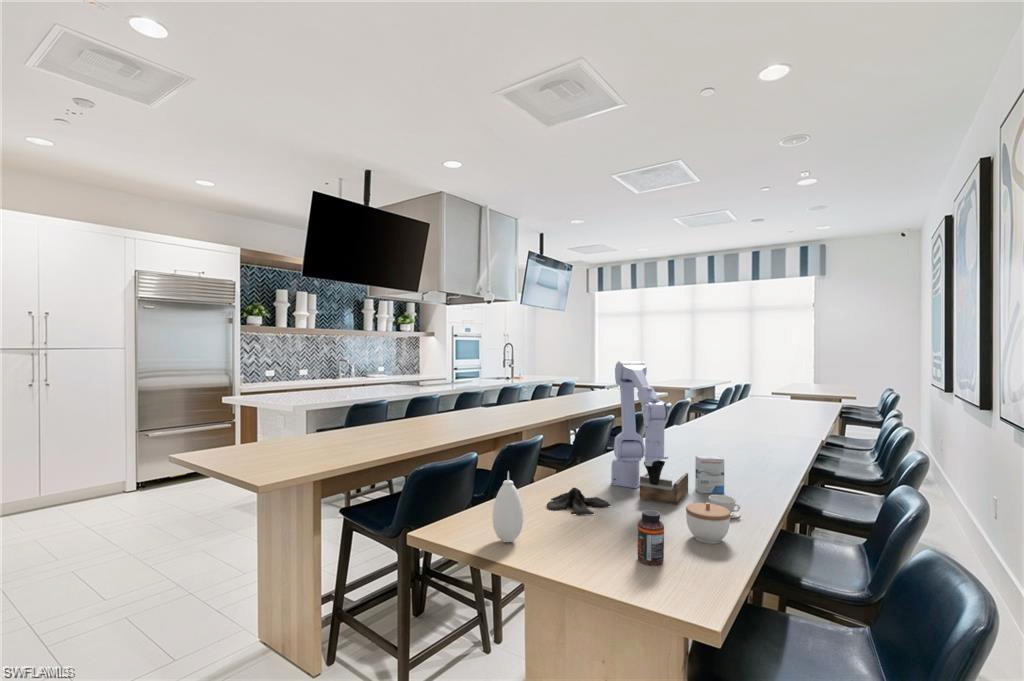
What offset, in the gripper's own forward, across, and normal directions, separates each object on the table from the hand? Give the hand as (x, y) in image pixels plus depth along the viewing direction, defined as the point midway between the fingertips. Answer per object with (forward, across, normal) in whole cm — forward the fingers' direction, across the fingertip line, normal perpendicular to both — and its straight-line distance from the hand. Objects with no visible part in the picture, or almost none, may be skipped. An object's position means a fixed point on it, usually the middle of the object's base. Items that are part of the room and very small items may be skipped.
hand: (654, 484), depth 157 cm
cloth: (+7, -12, +22) cm, 26 cm away
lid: (+1, +9, 0) cm, 9 cm away
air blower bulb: (+7, -49, +24) cm, 55 cm away
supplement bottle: (+7, -40, -10) cm, 42 cm away
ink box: (+7, +26, -12) cm, 29 cm away
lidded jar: (+7, -20, -19) cm, 28 cm away
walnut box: (+7, +12, 0) cm, 14 cm away
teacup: (+7, +4, -19) cm, 21 cm away
